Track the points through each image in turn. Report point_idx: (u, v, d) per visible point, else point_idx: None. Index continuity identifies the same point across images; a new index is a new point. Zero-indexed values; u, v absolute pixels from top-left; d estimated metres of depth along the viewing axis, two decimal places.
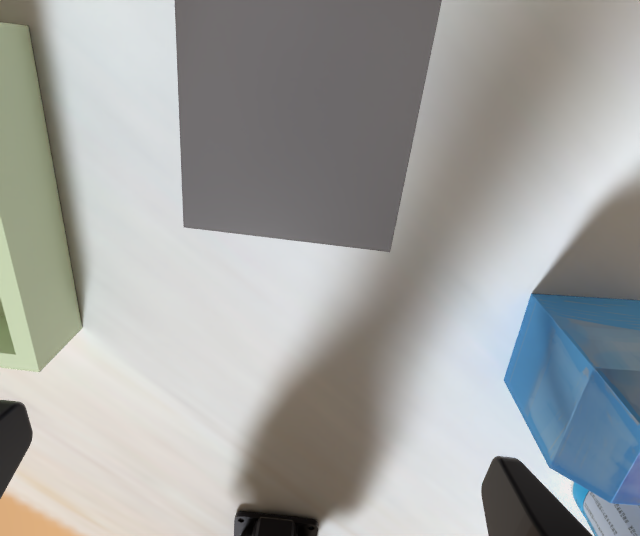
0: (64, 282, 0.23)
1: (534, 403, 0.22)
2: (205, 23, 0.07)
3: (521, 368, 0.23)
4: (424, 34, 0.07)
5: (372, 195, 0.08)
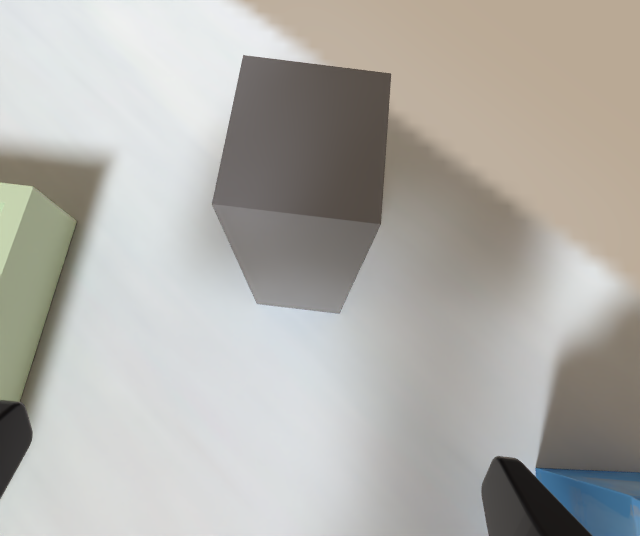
0: None
1: None
2: (254, 87, 0.12)
3: None
4: (383, 97, 0.12)
5: (362, 182, 0.11)
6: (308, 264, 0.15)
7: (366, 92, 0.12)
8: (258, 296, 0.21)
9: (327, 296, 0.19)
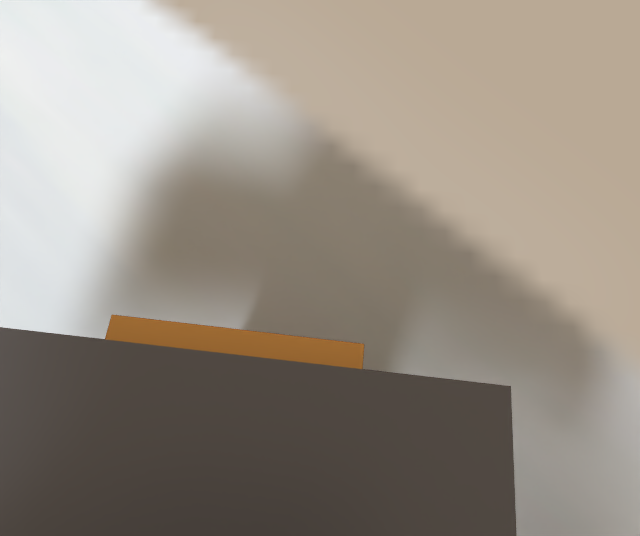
0: None
1: None
2: None
3: None
4: (490, 511, 0.03)
5: None
6: None
7: (418, 492, 0.03)
8: None
9: None
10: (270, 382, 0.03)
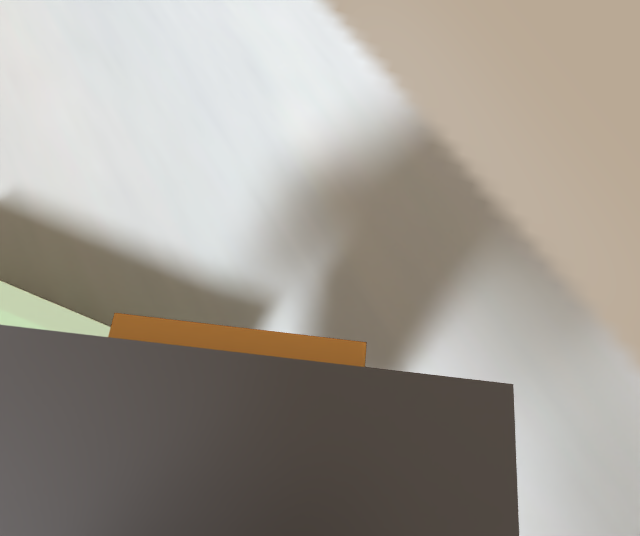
0: None
1: None
2: None
3: None
4: (492, 509, 0.03)
5: None
6: None
7: (421, 489, 0.03)
8: None
9: None
10: (273, 379, 0.03)
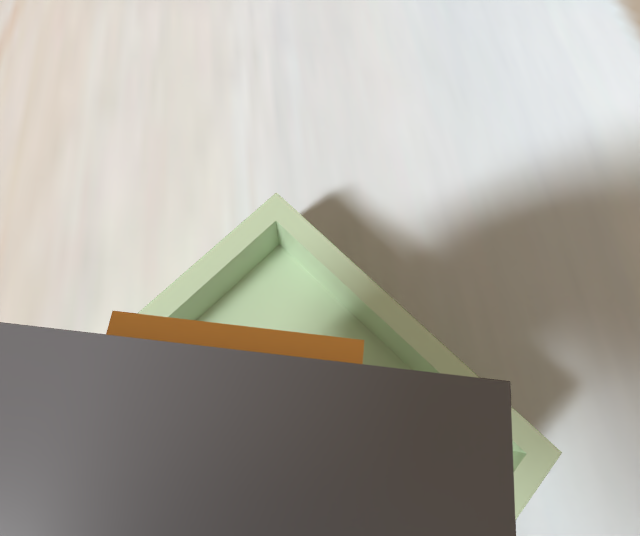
0: None
1: None
2: None
3: None
4: (489, 505, 0.03)
5: None
6: None
7: (418, 486, 0.03)
8: None
9: None
10: (271, 377, 0.03)
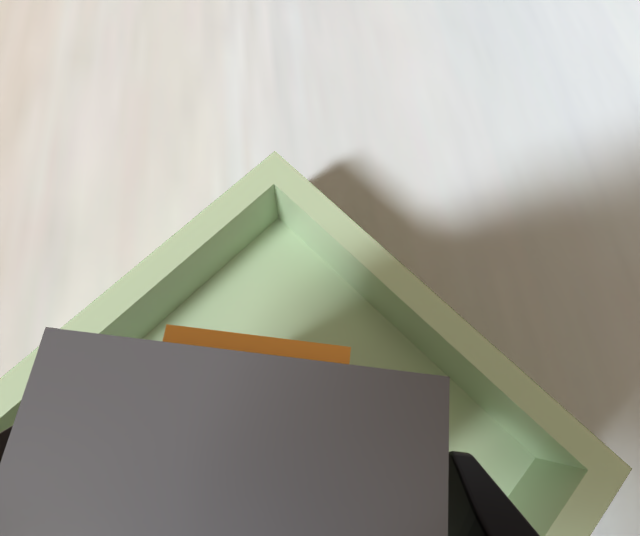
0: None
1: None
2: (61, 442, 0.04)
3: None
4: (432, 460, 0.04)
5: None
6: None
7: (383, 446, 0.04)
8: None
9: None
10: (284, 372, 0.05)
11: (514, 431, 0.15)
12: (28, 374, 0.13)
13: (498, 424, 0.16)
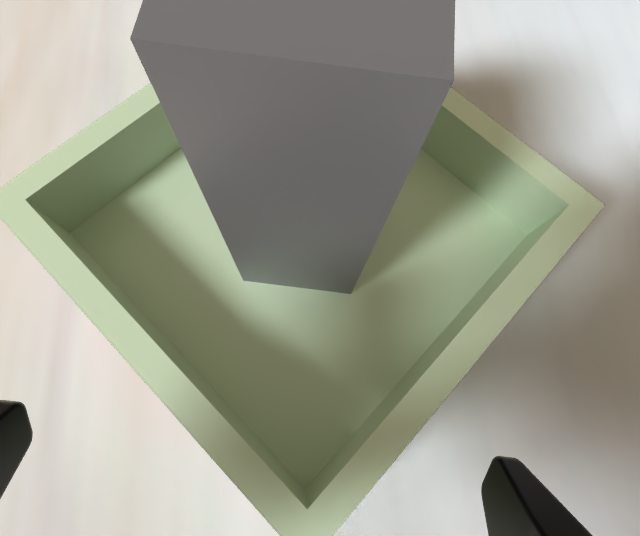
0: None
1: None
2: None
3: None
4: None
5: (415, 11, 0.06)
6: (313, 200, 0.10)
7: None
8: (244, 268, 0.15)
9: (337, 265, 0.14)
10: None
11: (508, 209, 0.18)
12: (107, 126, 0.16)
13: (495, 210, 0.19)
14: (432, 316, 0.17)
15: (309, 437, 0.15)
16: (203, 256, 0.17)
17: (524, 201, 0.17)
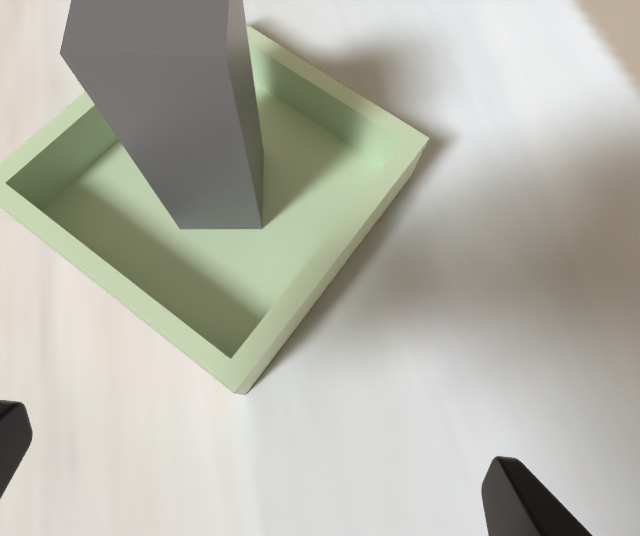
0: (288, 335, 0.21)
1: None
2: None
3: None
4: None
5: (207, 23, 0.12)
6: (194, 143, 0.15)
7: None
8: (175, 215, 0.21)
9: (237, 199, 0.20)
10: None
11: (374, 153, 0.24)
12: (59, 123, 0.21)
13: (367, 156, 0.25)
14: (324, 237, 0.23)
15: (239, 331, 0.21)
16: (147, 216, 0.23)
17: (380, 144, 0.23)
